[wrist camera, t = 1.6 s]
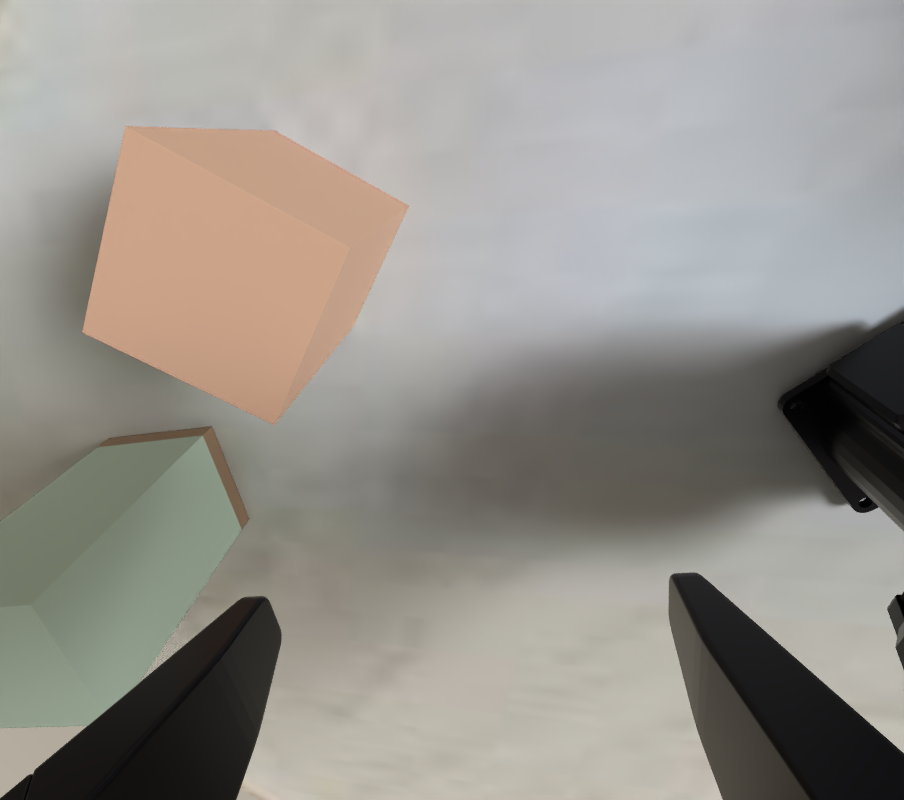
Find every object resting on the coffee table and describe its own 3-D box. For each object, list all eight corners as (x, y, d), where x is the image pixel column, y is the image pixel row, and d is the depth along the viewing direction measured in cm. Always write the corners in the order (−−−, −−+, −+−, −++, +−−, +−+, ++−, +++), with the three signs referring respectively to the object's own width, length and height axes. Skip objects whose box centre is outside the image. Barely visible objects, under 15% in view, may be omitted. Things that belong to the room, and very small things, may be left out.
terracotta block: (409, 205, 19) (350, 247, 12) (353, 326, 21) (274, 424, 14) (275, 130, 18) (125, 126, 11) (231, 263, 20) (82, 332, 13)
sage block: (212, 426, 23) (30, 605, 14) (249, 518, 25) (110, 725, 17) (109, 438, 24) (-124, 615, 15) (153, 527, 26) (-28, 728, 17)
